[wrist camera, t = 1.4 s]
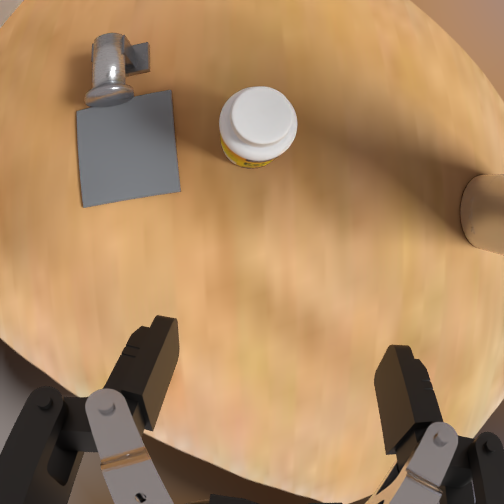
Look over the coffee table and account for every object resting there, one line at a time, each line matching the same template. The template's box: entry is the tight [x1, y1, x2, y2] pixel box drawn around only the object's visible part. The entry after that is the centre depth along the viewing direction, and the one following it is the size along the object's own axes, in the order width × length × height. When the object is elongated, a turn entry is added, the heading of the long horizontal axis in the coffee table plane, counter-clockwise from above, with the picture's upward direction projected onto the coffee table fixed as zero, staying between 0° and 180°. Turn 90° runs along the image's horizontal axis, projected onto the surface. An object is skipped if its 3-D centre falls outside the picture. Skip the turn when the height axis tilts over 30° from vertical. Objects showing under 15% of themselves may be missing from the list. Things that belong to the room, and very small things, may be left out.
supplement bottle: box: [219, 86, 297, 169], centre depth 24 cm, size 6×6×10 cm
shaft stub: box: [85, 33, 150, 108], centre depth 24 cm, size 6×7×6 cm
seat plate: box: [77, 90, 181, 208], centre depth 28 cm, size 10×10×1 cm
